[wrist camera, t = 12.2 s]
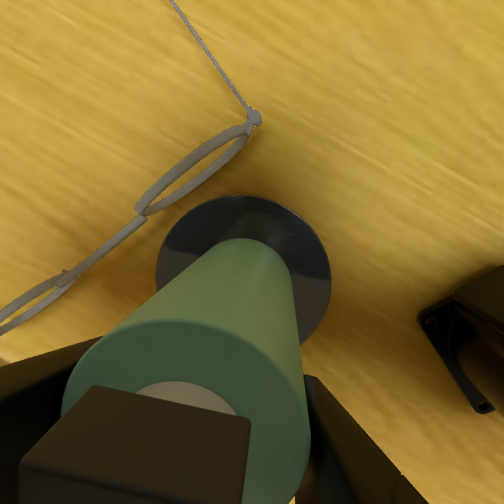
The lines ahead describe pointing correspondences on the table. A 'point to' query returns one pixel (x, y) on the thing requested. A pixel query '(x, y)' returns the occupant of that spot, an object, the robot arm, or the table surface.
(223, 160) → the eyeglasses
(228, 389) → the pale green rounded piece
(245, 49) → the table surface
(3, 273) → the table surface
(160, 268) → the coaster
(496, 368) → the robot arm
